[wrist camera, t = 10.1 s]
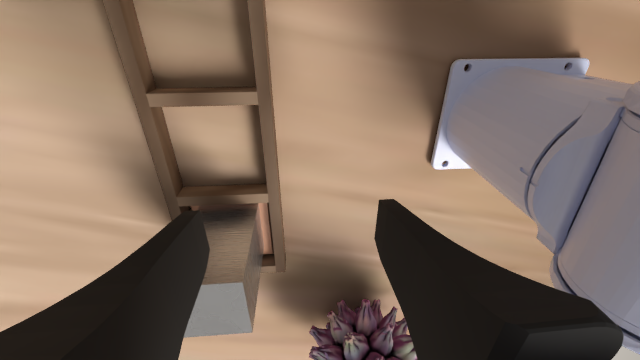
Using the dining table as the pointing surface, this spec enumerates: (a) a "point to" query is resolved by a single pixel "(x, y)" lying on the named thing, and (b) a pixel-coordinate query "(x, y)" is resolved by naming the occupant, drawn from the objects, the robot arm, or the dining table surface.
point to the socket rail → (154, 99)
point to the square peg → (229, 271)
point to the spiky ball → (362, 335)
